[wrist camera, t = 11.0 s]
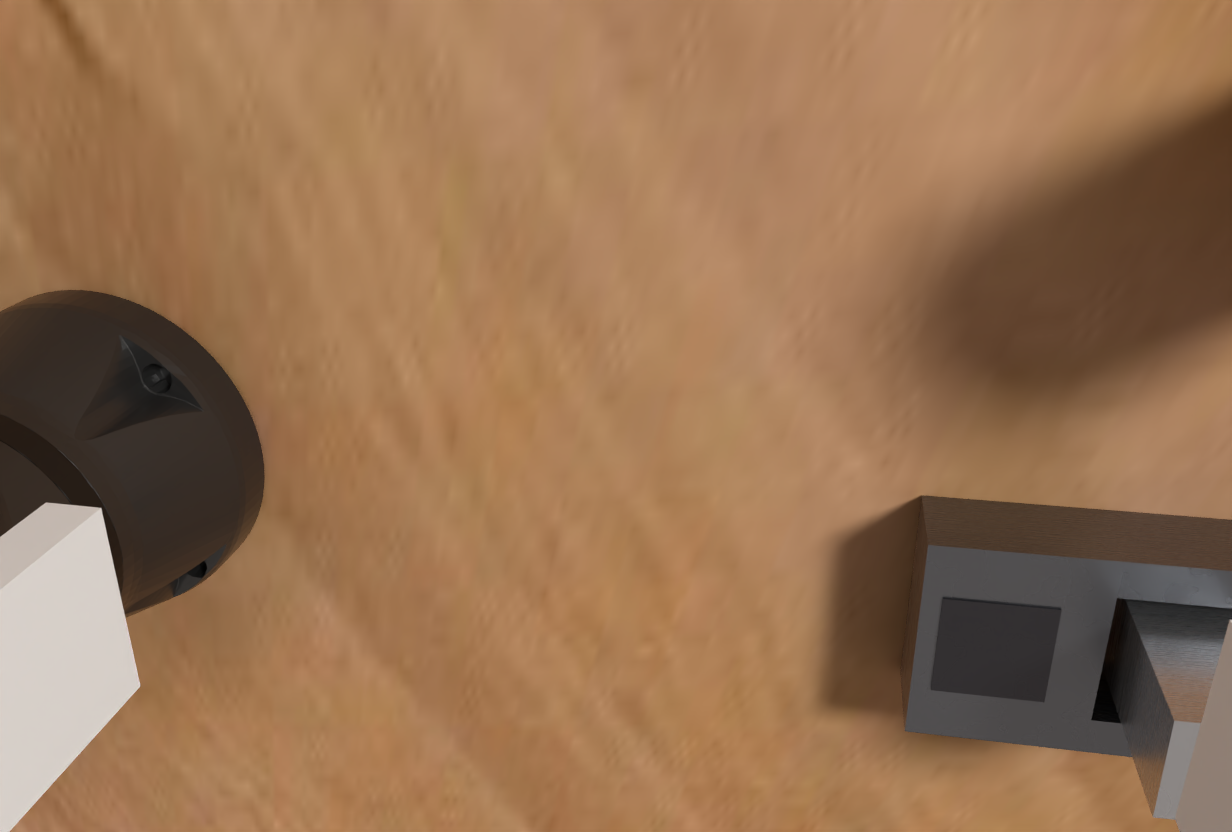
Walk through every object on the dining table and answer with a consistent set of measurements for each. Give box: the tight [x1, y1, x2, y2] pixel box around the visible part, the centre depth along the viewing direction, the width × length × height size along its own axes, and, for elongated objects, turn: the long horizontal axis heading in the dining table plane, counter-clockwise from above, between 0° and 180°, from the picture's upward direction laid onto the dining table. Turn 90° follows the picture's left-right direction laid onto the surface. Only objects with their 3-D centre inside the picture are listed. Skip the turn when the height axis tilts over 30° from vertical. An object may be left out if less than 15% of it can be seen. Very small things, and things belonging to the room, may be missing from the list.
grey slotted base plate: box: [901, 496, 1232, 757], centre depth 44 cm, size 20×9×4 cm, turn 91°
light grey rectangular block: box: [1102, 598, 1232, 820], centre depth 42 cm, size 4×4×10 cm
